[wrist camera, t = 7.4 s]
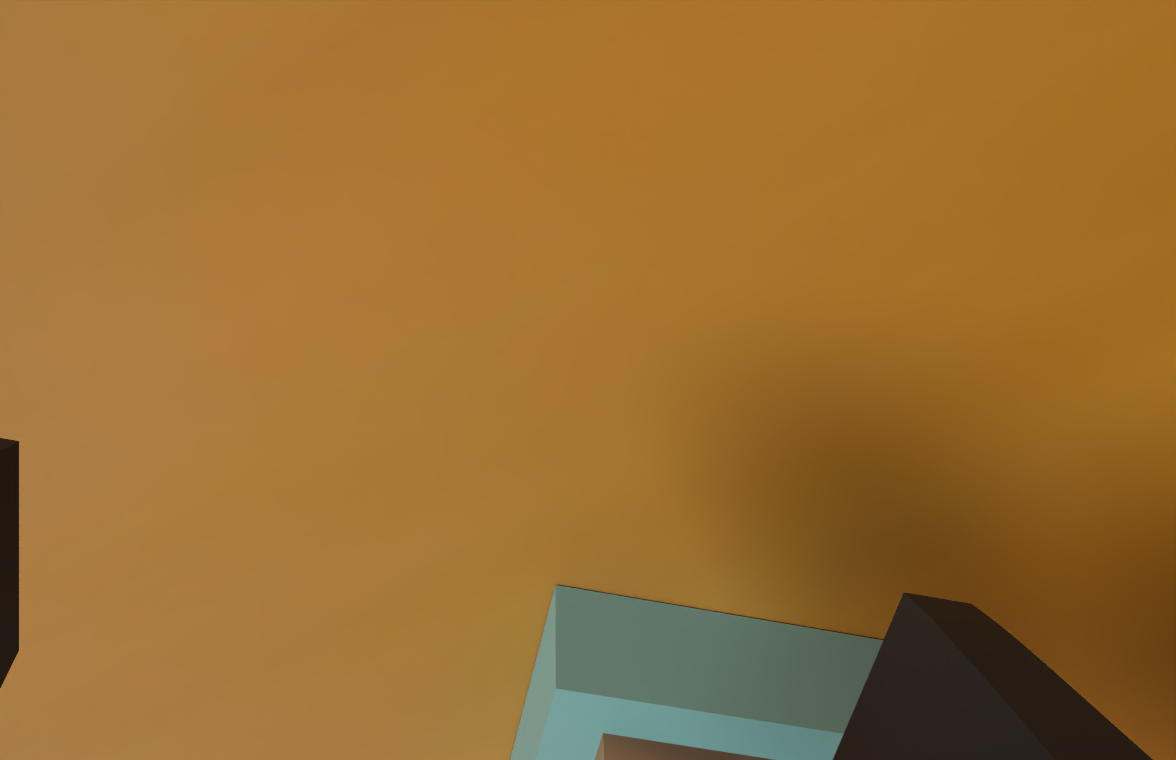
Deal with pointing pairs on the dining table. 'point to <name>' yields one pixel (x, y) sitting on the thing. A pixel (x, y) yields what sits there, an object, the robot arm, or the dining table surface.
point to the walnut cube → (658, 750)
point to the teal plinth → (687, 681)
